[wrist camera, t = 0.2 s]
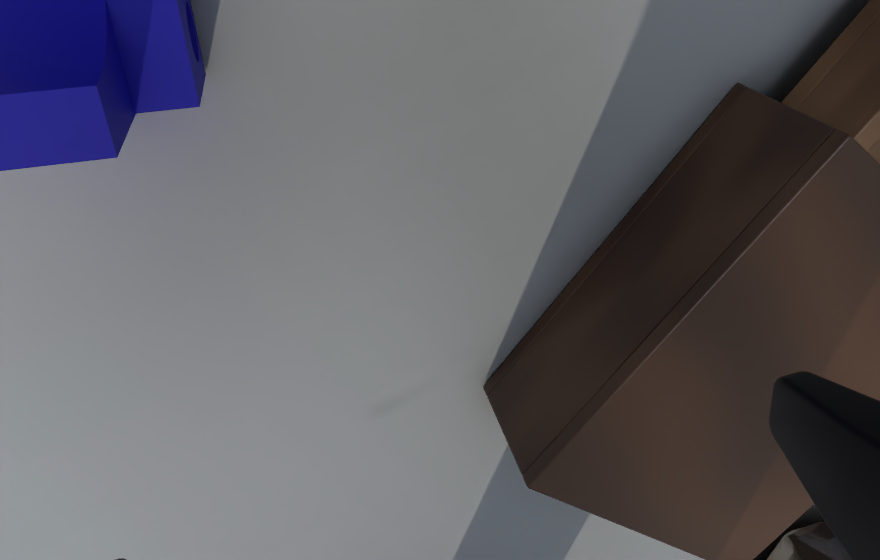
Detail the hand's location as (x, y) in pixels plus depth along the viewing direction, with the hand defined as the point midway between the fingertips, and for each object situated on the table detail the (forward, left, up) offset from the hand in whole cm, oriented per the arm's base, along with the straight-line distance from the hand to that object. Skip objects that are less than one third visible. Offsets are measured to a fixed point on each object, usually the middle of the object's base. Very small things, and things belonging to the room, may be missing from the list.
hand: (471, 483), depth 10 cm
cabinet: (-10, -12, -15) cm, 22 cm away
